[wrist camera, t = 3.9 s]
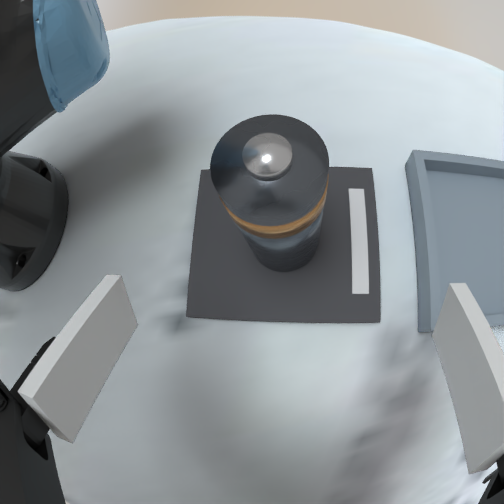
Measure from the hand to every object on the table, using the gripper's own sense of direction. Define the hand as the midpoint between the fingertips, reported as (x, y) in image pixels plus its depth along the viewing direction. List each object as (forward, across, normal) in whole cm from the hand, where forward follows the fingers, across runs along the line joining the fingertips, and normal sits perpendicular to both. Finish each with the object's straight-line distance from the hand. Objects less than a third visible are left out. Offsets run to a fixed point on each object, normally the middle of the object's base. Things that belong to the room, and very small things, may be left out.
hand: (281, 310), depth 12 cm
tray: (+12, +16, -3) cm, 21 cm away
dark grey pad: (+12, -1, -3) cm, 12 cm away
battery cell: (+12, -1, -3) cm, 12 cm away
